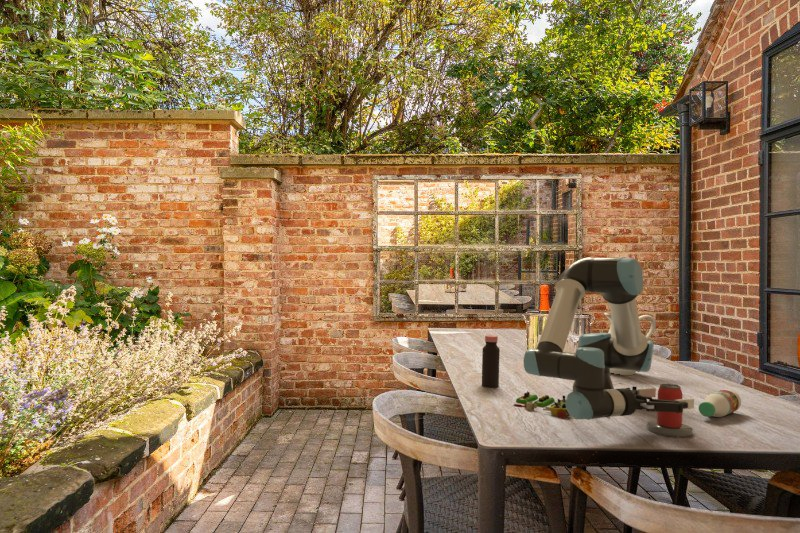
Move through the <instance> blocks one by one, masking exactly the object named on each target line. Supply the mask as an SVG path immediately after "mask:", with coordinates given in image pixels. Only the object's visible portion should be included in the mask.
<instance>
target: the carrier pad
mask: <svg viewBox="0 0 800 533" xmlns="http://www.w3.org/2000/svg"><path fill="white" fill-rule="evenodd" d="M646 427H647V430H648V431H650V432H651V433H654V434H657V435H661V436H665V437H670V438H671V437H672V438H690V437H692V436H693V427H691V426H690V425H688V424H685V423H682V426H681V427H680V428H677V429H672V428H666V427H662V426H660V425H659V424H658V423H657V419H655V420H654V419H653V420H649V421H647V426H646Z"/></svg>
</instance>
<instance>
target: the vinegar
mask: <svg viewBox="0 0 800 533" xmlns="http://www.w3.org/2000/svg"><path fill="white" fill-rule="evenodd" d="M484 337H485V338H484V341H485V345H484V346H483V347H482V357H481V358H482V359H481V385H482V387H485V388H498V387H499V385H500V352H501V351H500V348H499V346H498V345H497V344H498V335H491V334H490V335H489V334H488V335H487V334H486V335H485V336H484Z"/></svg>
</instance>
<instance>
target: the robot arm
mask: <svg viewBox="0 0 800 533" xmlns="http://www.w3.org/2000/svg"><path fill="white" fill-rule="evenodd" d="M554 288H555V292H556V293H555V296H554V298H553V301H552V304H551V307H550V309H549V312H548V315H547V319H546V320H545V323H544V327H543V329H542V332H541V335H540V337H539V340H538V343H537V346H536V348H528V349H527V350H526V351H525V352H524V354H523V355H524V356H523V368H524V371H525V372H526V373H527V374H529V375H533V376H537V377H545V378H553V379H554V378H555V379H561V380H566V381H567V380H569V381H573V384H572V392H569V393H568V394H567V395H566V397H565V400H566V409H567V411H568V413H569V415H568V416H570V417H572V418H573V419H574V420H587V421H588V420H592V419H600V418H601V419H602V418H603V419H604V418H607V419H608V420H609V419H611V417H612V418H613V417H625V416H631V415H634V414H635V412H636V411H637V410H645V411H646V412H648V413H649V412H650V413H651V412H657V411H660V412H676V413H682V414H683V412H684V410H691V409H694V408H695V399H694V398H691V397H690V398H682V399H678V400H675V401H670V400H660V399H658V398H657V397H656V396H657V395H656V394H657V393H656V391H657V389H656V388H655V387H648V388H637V386H631V388H630V387H626V388H625V387H624V388H623V387H622V388H615V387H614V383H613V381H612V377H611V373H610V368H613V369H622V370H629V371H636V373H640V372H641V373H648V372H649V371H650V370H651V367H652V361H653V352H654V343H655V342H654V341H653V340H650V339H648V340H647V338H646V335H645V334H644V333H643V332H642V328H641V323H640V321H639V312H638V306H637V301H636V300H637V299H636V298H638V296H639V295H640V294H641V293H642V292H643V289H644V276H643V269H642V266H641V263H640V262H639V260H637V259H636V258H632V257H624V256H621V257H591V256H590V257H584V258H581V259H578V260H576V261H574V262H573V263H571V264H570V265H568V266H567V267H566V268H565V269H564V271H562V272H561V274H560V276H559V277H558V279H557V281H556V283H555V287H554ZM587 293H593V294H594V293H596V294H600V295H601V297H602V298H603V300H604V301H605V302H606V303H608V307H609V313H610V314H611V317H612V321H613V325H614V330H615V334H616V336H615V338H614V337H611V334H610V333H608V332H593V333H585V334H581V335H580V336H579V337H578V344H577V345H578V346H577V348H576V350H575V352H567V351H566V352H564V350H565V347H566V344H567V340H568V338H569V334H570V331H571V328H572V324H573V322H574V319H575V316H576V313H577V309H578V306H579V304H580V301H581V300H583V299H584V297H585V296H586V294H587Z"/></svg>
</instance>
